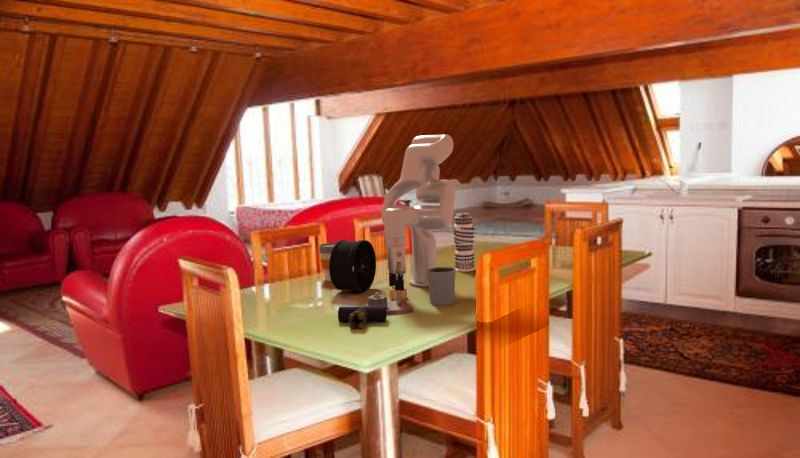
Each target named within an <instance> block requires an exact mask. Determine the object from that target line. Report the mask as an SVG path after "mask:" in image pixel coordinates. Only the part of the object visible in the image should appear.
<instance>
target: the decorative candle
mask: <svg viewBox="0 0 800 458" xmlns="http://www.w3.org/2000/svg"><path fill="white" fill-rule="evenodd" d="M453 218H454V228H453V235H454V237H453V238H454V240H453V242H454V243H453V244H454V245H455V251H454V252H455V254H454V260H455V262H454V264H455V265H454V267H455V269H456V271H457V272H472V271H475V260H474V259H475V257H474V256H475V254H474V244H475V243H474V242H475V241H474V240H473V239H474V238H475V236H474V234H475V232H474V230H475V227H474V225H473V216H472V215H471V214H470V213H469V212H459V213H458V212H457V214H455V216H454V217H453Z"/></svg>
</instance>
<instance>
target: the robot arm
mask: <svg viewBox="0 0 800 458" xmlns="http://www.w3.org/2000/svg"><path fill="white" fill-rule="evenodd" d="M453 150H454V141H453V138H452V136H451V135H449V134H425V135H424V134H423V135H417V136H415V137H414V138H413V139H412V140H411V144H410V145H409V146H407V147H406V149H405V152H404V158H403V163H402V167H401V172H400V176H399V177H400V178H399V179H398V181H397V182H396V183H395V184H394V185H393V186H392V187H391V188H390V189H389V190H388V191H387V193H386V195H385V197H384V198H383V199H384V200H383V204H382V209H381V221H382V223H383V226H384V247H385V248H387V249H386V250H387V251H386V252H387V270H388V275H389V276H388V286H389V287H395V291H398V290H400V291H404V287H405V277H404V276H405V275H404V274H406V273H407V266H406V251H405V247H406V227H408V228H409V227H410V233H411V248H412V273H413V274H412V275H413V278H412V279H410V281H409V284H410V286H413V287H429V282H428V274H427V270H428V269H430V268H435V267H438V266H437V265H438V264H437V242H436V241H437V240H436V237H435V235H434V234H433V232H432V231H433V230H438V231H441V230H445V231H446V230H448V229H450V227H451V225H452V223H453V218H454V217H453V216H454V211H455V210H454V209H455V202H456V201H455V200H456V188H455V184H454V182H452V180H450V179H440V174H441V173H440V171H441V170H440V166H439V165H440V164H442V163H443V162H444V161H445V160H446V159H447V158H448V157H449V156H450V155H451V154H452V152H453ZM412 191H415V198H416V201H418V203H421V204H419V205H415V206H411V205H410V206H407V205H406V206H405V205H404V206H403V205H398V206H397V205H396V203H397V202H398V201H399V199H400V198H402V197H403V196H404V195H407V194H409V193H410V192H412ZM423 204H424V205H423ZM425 204H428V205H425ZM429 204H439V205H429Z"/></svg>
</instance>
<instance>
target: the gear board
mask: <svg viewBox="0 0 800 458" xmlns="http://www.w3.org/2000/svg"><path fill="white" fill-rule="evenodd" d="M364 307H386V311H387V316H388V315H396V314H408V313H414V308H413V307H412V306H411V305H410V304H409V303H408V302H407V301H405V299H403V300H402V299H401V291H400V290H398V291H397V300H390V301H389V300H388V296H386V294H382V295H381V294H380V292H378V291H377V292H375V293H374V294H372V295H370V296H367V303H364Z"/></svg>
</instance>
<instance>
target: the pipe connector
mask: <svg viewBox="0 0 800 458" xmlns="http://www.w3.org/2000/svg"><path fill="white" fill-rule="evenodd" d="M387 316H388V315H387V311H386V307H365V306H339V307H338V310H337V318H338V319H337V320H338V322H339V323H349V328H350V329H363V328H364V327H365V325H366V323H386V321H387Z"/></svg>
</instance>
